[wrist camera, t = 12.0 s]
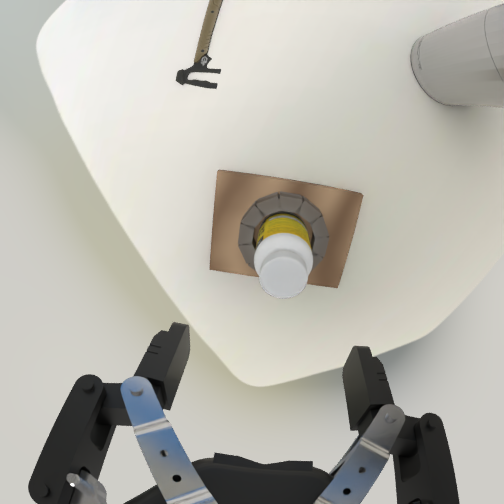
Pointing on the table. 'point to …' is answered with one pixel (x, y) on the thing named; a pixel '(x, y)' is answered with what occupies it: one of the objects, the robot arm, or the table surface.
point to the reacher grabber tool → (203, 49)
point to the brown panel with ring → (275, 200)
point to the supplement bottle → (283, 255)
